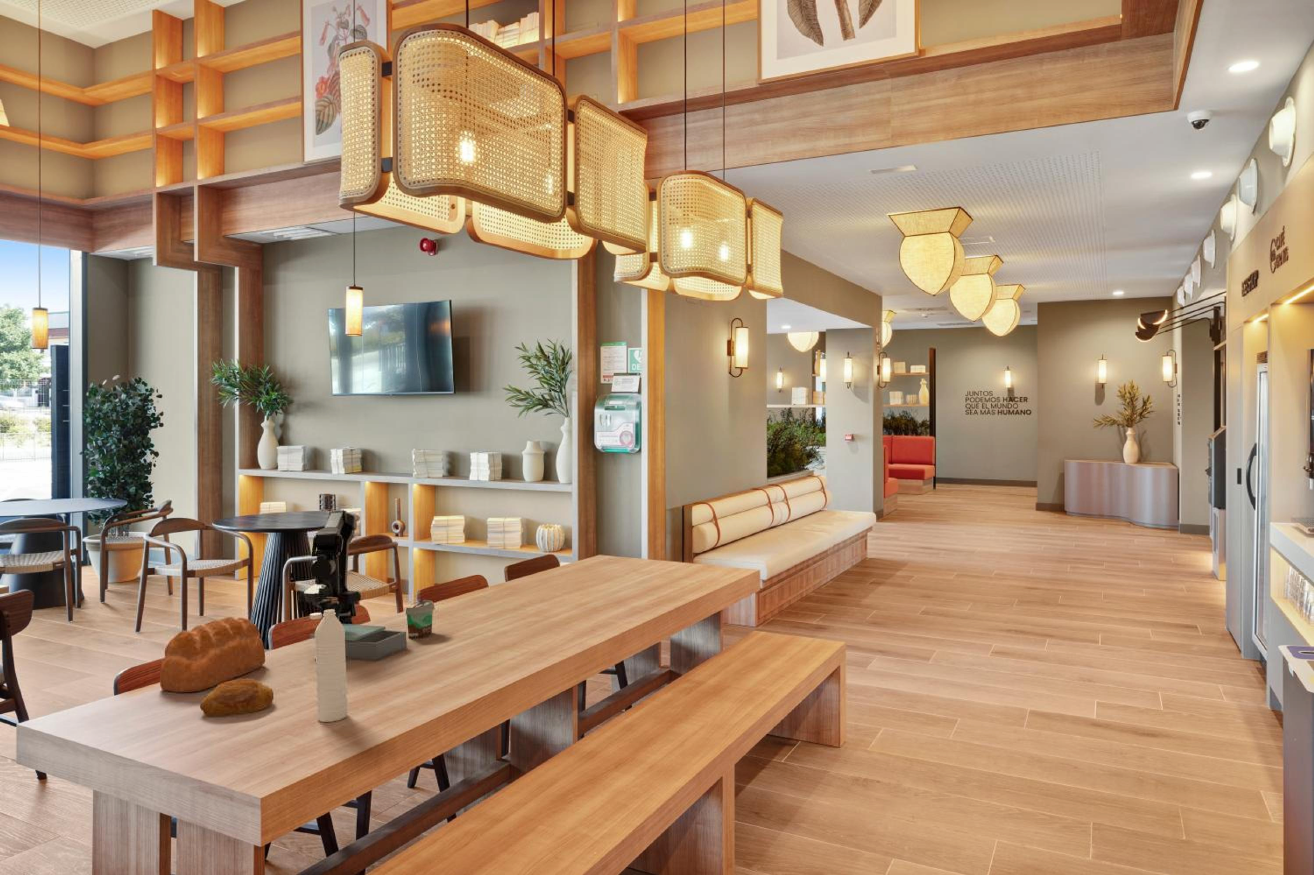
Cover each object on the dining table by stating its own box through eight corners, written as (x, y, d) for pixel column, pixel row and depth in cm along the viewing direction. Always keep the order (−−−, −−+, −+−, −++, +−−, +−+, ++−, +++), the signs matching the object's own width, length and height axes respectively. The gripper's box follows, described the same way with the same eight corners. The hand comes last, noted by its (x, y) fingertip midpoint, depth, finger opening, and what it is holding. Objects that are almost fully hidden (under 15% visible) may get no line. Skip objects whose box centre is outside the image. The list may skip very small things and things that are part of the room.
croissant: (267, 723, 198) (271, 689, 198) (194, 722, 194) (198, 687, 194) (277, 702, 212) (280, 670, 212) (209, 700, 207) (212, 668, 207)
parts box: (331, 657, 245) (330, 640, 245) (362, 644, 259) (362, 628, 259) (376, 661, 240) (376, 643, 240) (406, 648, 253) (406, 631, 253)
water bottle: (331, 711, 198) (328, 605, 198) (353, 714, 196) (350, 607, 195) (303, 724, 190) (300, 614, 190) (326, 727, 188) (323, 615, 187)
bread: (153, 691, 217) (151, 632, 217) (231, 662, 242) (230, 609, 242) (196, 695, 213) (194, 634, 213) (271, 665, 239) (270, 611, 238)
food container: (424, 640, 262) (423, 608, 262) (406, 639, 264) (405, 607, 263) (442, 630, 274) (441, 600, 274) (424, 630, 276) (423, 599, 275)
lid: (310, 637, 248) (309, 621, 248) (342, 626, 261) (341, 610, 261) (354, 640, 243) (354, 624, 242) (385, 629, 256) (385, 613, 256)
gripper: (284, 577, 249) (285, 629, 249) (336, 579, 243) (337, 633, 243) (310, 570, 260) (312, 620, 260) (361, 572, 254) (362, 623, 254)
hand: (330, 624), depth 254 cm, fingers closed on lid, 2 cm apart
